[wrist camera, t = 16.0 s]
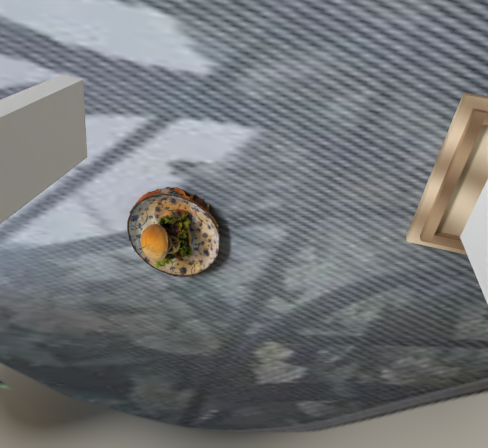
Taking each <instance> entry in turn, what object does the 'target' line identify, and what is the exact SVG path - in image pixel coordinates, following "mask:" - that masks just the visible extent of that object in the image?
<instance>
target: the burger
mask: <svg viewBox="0 0 488 448" xmlns="http://www.w3.org/2000/svg"><path fill="white" fill-rule="evenodd" d="M127 223H128V224H127V228H128V229H127V230H128V234H129V239H130V242H131V244H132V246H133V248H134V250H135V251H136V253H137V254H138V255H139V256H140V257H141V258H142V259H143V260H144V261H145V262H146V263H147V264H149V265H150V266H152V267H153V268H155V269H157V270H159V271H161V272H163V273H166V274H169V275H173V276H180V277H182V276H183V277H186V276H193V275H196V274H199V273H202V272H204V271H205V270H207V269H208V268H209V267H210V266H211V265H212V264H213V263H214V261H215V260H216V258H217V257H218V255H219V238H220V234H219V232H218V224H217V222H216V220H215V219H214V218H213V217H212V215H211V214H210V213H209V204H208V205H205V202H204V199H201V198H198V197H195V194H194V196H190V197H188V196H186V195H185V193H184V191H182V190H181V189H179V188H169V187H166V188H164V189H157V190H156V191H153V192H149V193H147V194H145V195H143V196H142V197H141V198H140V199H139V200H138V202H137V203H136V204H135V206H134V207H133V209H132V210H131V211H130V216H129V218H128V222H127ZM135 251H134V252H135Z"/></svg>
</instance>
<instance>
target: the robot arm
mask: <svg viewBox="0 0 488 448" xmlns="http://www.w3.org/2000/svg"><path fill="white" fill-rule="evenodd" d="M86 158H87V145H86V127H85V109H84V91H83V79H78V78H73V77H68V76H63V75H60V76H58V77H55V78H53V79H50V80H48V81H45V82H43V83H40V84H38V85H36V86H33V87H31V88H28V89H26V90H23V91H21V92H18V93H16V94H14V95H11V96H9V97H6V98H4V99H1V100H0V224H1V223H2V222H4V221H5V220H6V219H8V218H9V217H10V216H11V215H13V214H14V213H15V212H17V211H18V210H19V209H21V208H22V207H23V206H24V205H26V204H27V203H28V202H30V201H31V200H32V199H34V198H35V197H36V196H37V195H39V194H40V193H41V192H43V191H44V190H45V189H47V188H48V187H49V186H50V185H52V184H53V183H54V182H56V181H57V180H58V179H60V178H61V177H62V176H63V175H65V174H66V173H67V172H69V171H70V170H71V169H73V168H74V167H75V166H76V165H78V164H79V163H80V162H82V161H83V160H84V159H86ZM460 239H461V241H462V243H463V246H464V248H465V251H466V253H467V255H468V258H469V260H470V263H471V265H472V268H473V270H474V272H475V275H476V277H477V280H478V282H479V284H480V287H481V289H482V292H483V294H484V297H485V299H486V301H487V304H488V179H487V181H486V183H485V186H484V188H483V190H482V192H481V194H480V196H479V198H478V200H477V202H476V204H475V207H474V209H473V211H472V213H471V215H470V217H469V219H468V221H467V223H466V225H465V228H464V230H463V232H462V234H461V236H460Z"/></svg>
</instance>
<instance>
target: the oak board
mask: <svg viewBox="0 0 488 448" xmlns="http://www.w3.org/2000/svg"><path fill="white" fill-rule="evenodd" d="M487 179H488V97H486V96H481V95H476V94H470V93H465V92H464V93H463V95H462V98H461V100H460V103H459V105H458V108H457V110H456V113H455V115H454V118H453V120H452V123H451V125H450V128H449V130H448V133H447V135H446V138H445V140H444V143H443V145H442V148H441V150H440V153H439V155H438V158H437V160H436V163H435V165H434V168H433V170H432V173H431V175H430V178H429V180H428V183H427V185H426V188H425V190H424V193H423V195H422V198H421V200H420V203H419V205H418V208H417V210H416V213H415V215H414V218H413V221H412V223H411V226H410V228H409V231H408V233H407V236H406V239H407V242H411V243H416V244H420V245H425V246H430V247H434V248H439V249H443V250H448V251H453V252H457V253H462V254H466V255H467V253H466V251H465V248H464V246H463V243H462V241H461V239H460V236H461V234H462V232H463V230H464V228H465V225H466V223H467V221H468V219H469V217H470V215H471V213H472V211H473V209H474V207H475V204H476V202H477V200H478V198H479V196H480V194H481V192H482V190H483V188H484V186H485V183H486V181H487Z"/></svg>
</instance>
